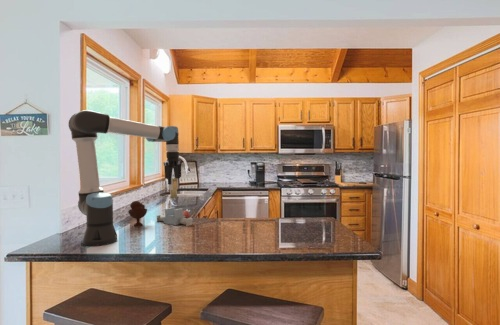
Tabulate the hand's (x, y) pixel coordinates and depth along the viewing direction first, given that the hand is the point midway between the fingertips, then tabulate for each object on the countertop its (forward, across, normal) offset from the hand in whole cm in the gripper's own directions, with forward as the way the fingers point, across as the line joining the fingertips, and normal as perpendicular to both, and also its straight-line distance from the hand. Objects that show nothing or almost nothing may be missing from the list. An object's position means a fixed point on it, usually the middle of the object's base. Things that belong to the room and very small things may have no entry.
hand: (173, 189), depth 189 cm
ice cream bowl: (+21, -15, +15) cm, 30 cm away
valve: (+21, +4, 0) cm, 22 cm away
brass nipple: (+5, 0, 0) cm, 5 cm away
